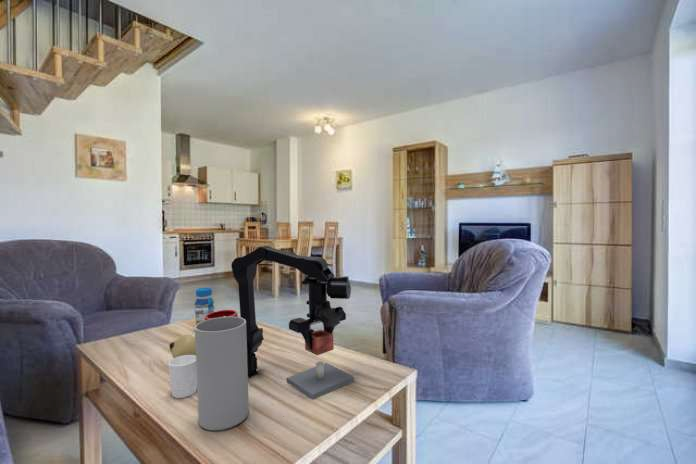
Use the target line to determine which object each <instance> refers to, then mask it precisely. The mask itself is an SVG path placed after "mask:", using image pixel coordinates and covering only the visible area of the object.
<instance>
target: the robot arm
mask: <svg viewBox="0 0 696 464" xmlns="http://www.w3.org/2000/svg"><path fill="white" fill-rule="evenodd" d="M265 260H266V261H270V262H273V263H277V264H279V265H283V266H287V267H290V268H294V269H296V270H298V271H299V272H300V273H302V274H303V275H305V278H304V280H302V281H301V285H307V288H308V290H307V291H308V300H306V303H305V304H306V305H308V313H306V318H307V319H305V318H302V317H297V318H293V319H290V320H289V322H288V330H291V331H293V332H295V333H298V334H301V336H302V338H303V340H304V342H305V341H306V343H307V346H308V348H309V349H310V350H312V333H313V332H314V331H315V329H313V328H312V326H313V325H315V324H319V323H322V325H323V326H322V327H323V330H324V331H327V332H329V333H332V334H333V332H334V330H335V327H336V326H338V325H339V324H341V322H342V321H345V320H347V313H346V312H345V311H344V308H343V307H342V306H337V307H331V302H330V300H328V297H330V299H338V300H339V299H341V300H344V299H345V300H349V299H350V298H351V294H352V292H351V291H352V286H351V282H350V279H349V277H350V276H336V275H335V274H334V273H333V272H332V270H331V269H330V268H329V266H328V262H327V261H326V259H325V258H324V257H321V256H305V255H299V254H296V253H292V252H290V251H286V250H281V249H278V248H276V247H275V248H274V247H271V246H269V245H262V246H258V247H257V248H256V249H255V250H253V251H251V252H249V253H247V254H245V255H243V256H238V257H236V258H235V259H233V261H231V267H230V268H231V271H232V275H233V278H234V280H235V281H236V283H237V287H238V302H239V316H240V318H243V319H245V320H246V337H247V367H248V378H250V377H252V376H255V375H258V374H259V371H258V358H257V356H256V352H258V350H259V348H260V347H261V346H262V344H263V340H264V339H265V338H264V335H263V332H264V330H263V328H262V327H260V328H259V326H258V325H257V320H256V319H257V318H256V303H255V288H254V281H255V279H256V275H257V271H258V265H260V264H261V263H262V262H264V261H265Z"/></svg>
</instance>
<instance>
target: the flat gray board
mask: <svg viewBox="0 0 696 464" xmlns="http://www.w3.org/2000/svg"><path fill="white" fill-rule="evenodd" d="M354 378H355V377H354V375H352V374H350V373H347V372H346V371H344V370H342V369H340V368H338V367H336V366H334V365H332V364H330V363H328V362H325V363H324V362H323V361H317V362H316V363H315V367H312V368H309V369H306V370H303V371H300V372H299V373H296V374H293V375H290V376H288V377H286V383H287V384H288V385H291V386H292V387H293V388H294V389H296V390H297V391H299V392H301V393H302V394H303V395H305V396H306V397H308V398H309V399H311V400H312V401H313V400H315V399H317V398H319V397H321V396H323V395H326V394H329V393H330V392H332V391H335V390H337V389H340V388H341V387H344V386H346V385H347V384H351V383H352V382H354V381H355V379H354Z"/></svg>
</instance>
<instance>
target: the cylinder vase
mask: <svg viewBox="0 0 696 464" xmlns="http://www.w3.org/2000/svg"><path fill="white" fill-rule="evenodd" d="M194 337H195V348H196V373H197V389H196V394H197V397H196V398H197V417H198V419H197V420H198V421H197V422H198V424H199V426H200V427H201V428H203V429H205V430H208V431H224V430H227V429H228V430H229V429H230V428H233V427H235V426H238V425H239V424H240V423H242V422H244V421H245V419H246V418H247V416H248V415H249V413H250V412H249V411H250V404H249V377H248V367H247V337H246V320H245V319H243V318H241V317H239V316H238V317H226V316H224V317H219V318H213V319H209V320H205V321H202V322H200V323H198V324H197V325H196V324H195V326H194Z"/></svg>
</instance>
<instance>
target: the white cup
mask: <svg viewBox="0 0 696 464" xmlns="http://www.w3.org/2000/svg"><path fill="white" fill-rule="evenodd" d="M167 364H168V374H169V383H170V387H171V388H170V389H171V396H172V397H173V398H174V397H175V399H185V398H188V397H190V396H192V395H194V394H195V393H197V373H196V356H194V355H184V356H179V357H176V358H172V359H170V360H169V361H168V363H167Z"/></svg>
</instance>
